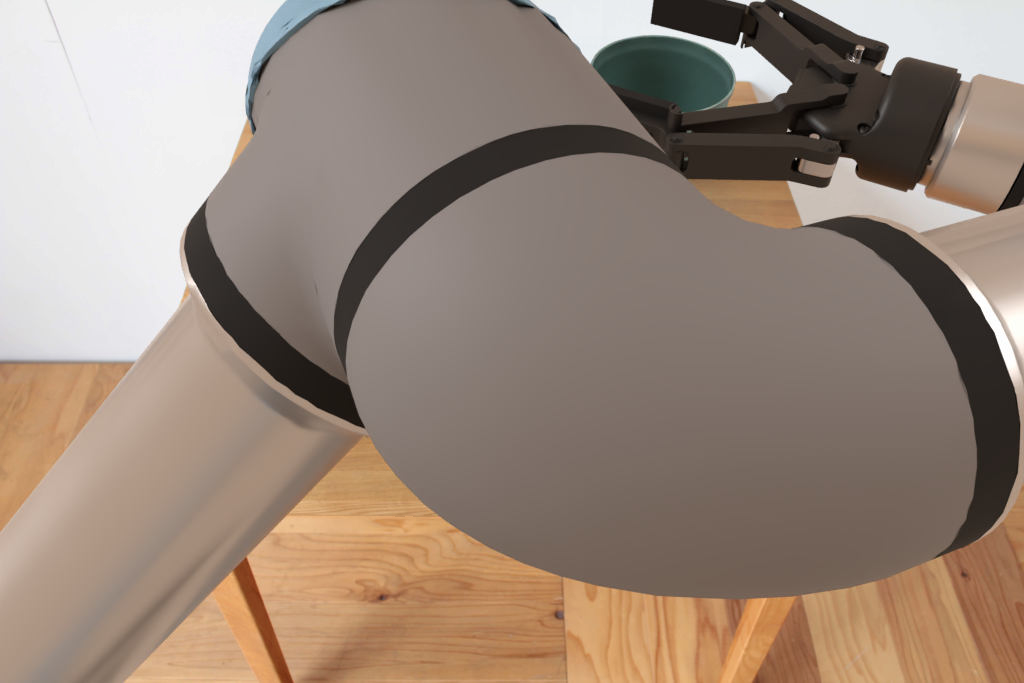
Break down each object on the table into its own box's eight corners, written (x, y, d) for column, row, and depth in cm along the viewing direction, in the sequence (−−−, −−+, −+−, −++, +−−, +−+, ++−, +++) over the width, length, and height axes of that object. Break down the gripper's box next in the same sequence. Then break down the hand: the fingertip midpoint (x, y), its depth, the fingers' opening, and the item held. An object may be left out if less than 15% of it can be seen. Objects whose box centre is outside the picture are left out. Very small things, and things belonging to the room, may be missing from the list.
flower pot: (714, 117, 108) (731, 38, 100) (721, 199, 97) (741, 117, 89) (586, 109, 109) (593, 30, 101) (580, 189, 98) (586, 108, 90)
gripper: (874, 310, 47) (531, 194, 53) (952, 88, 61) (675, 18, 68) (923, 204, 41) (533, 88, 48) (997, -14, 56) (690, -79, 62)
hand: (616, 47), depth 58 cm, fingers open, 13 cm apart
